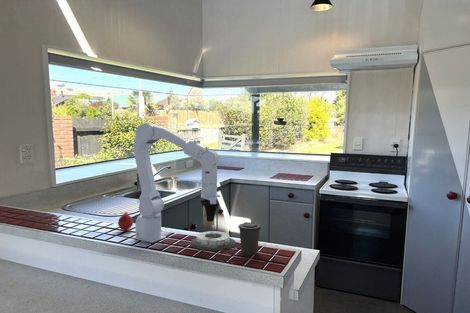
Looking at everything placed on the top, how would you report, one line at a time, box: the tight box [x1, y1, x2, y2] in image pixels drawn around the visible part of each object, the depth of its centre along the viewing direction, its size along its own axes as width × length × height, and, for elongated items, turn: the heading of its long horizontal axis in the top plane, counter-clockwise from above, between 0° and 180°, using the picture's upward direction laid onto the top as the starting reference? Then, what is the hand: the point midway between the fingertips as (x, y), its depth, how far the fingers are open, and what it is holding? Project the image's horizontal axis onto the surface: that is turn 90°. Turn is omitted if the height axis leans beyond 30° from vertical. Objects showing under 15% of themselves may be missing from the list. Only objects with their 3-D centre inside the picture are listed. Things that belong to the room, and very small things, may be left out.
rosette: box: [190, 230, 237, 252], centre depth 124 cm, size 17×17×3 cm
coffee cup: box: [237, 221, 262, 256], centre depth 115 cm, size 8×8×10 cm
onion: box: [117, 211, 134, 232], centre depth 138 cm, size 6×6×8 cm
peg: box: [202, 206, 215, 227], centre depth 123 cm, size 4×4×7 cm
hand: (208, 219), depth 123 cm, fingers closed on peg, 4 cm apart
